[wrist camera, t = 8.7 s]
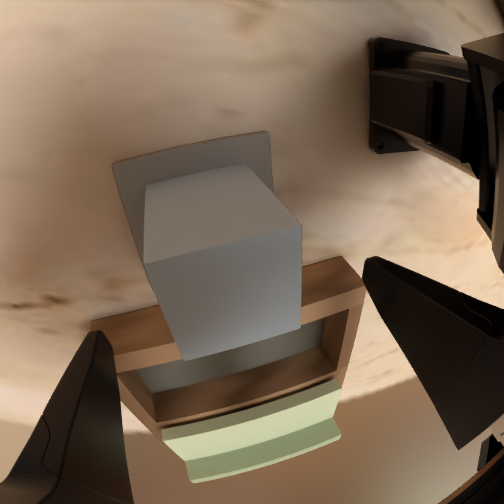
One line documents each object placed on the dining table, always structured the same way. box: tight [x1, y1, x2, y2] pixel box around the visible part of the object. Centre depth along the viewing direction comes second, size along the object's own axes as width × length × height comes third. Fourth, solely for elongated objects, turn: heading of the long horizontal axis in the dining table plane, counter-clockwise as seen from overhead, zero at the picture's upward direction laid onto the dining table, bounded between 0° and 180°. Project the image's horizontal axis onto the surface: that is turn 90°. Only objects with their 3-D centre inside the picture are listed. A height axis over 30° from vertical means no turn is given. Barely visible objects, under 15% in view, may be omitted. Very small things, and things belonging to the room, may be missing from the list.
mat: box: [112, 131, 273, 289], centre depth 14 cm, size 7×7×1 cm
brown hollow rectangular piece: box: [90, 256, 366, 444], centre depth 20 cm, size 16×13×3 cm
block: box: [144, 163, 302, 361], centre depth 12 cm, size 4×4×6 cm
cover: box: [161, 378, 342, 483], centre depth 21 cm, size 14×7×3 cm, turn 95°
